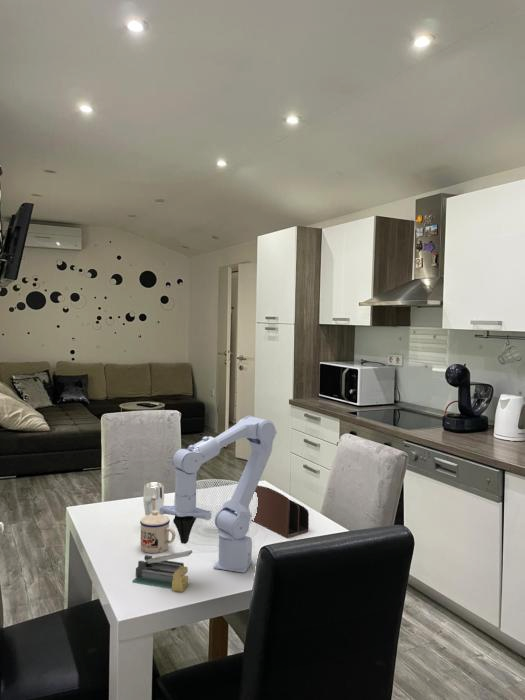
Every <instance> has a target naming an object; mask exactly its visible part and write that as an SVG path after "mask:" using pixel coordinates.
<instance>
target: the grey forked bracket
mask: <svg viewBox="0 0 525 700" xmlns="http://www.w3.org/2000/svg"><path fill="white" fill-rule="evenodd" d="M146 558H148V559H150V558H153V555H147V554H145V555H144V560H145V559H146ZM144 560H138V562H137V565H138V566H137V567H135V578H136V577H137V576H142V570H143V569H145V567H148V566H149V565H150V564H151V563H150V564H146V561H144Z"/></svg>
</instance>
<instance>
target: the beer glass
mask: <svg viewBox="0 0 525 700" xmlns="http://www.w3.org/2000/svg"><path fill="white" fill-rule="evenodd" d="M142 496H143V497H142V498H143V501H142V502H143V508H144V514H145V516H147V515H149V514H152V511H154V510H157V511H158V513H160V507H161V506H164V503H165V485H164V484H163V482H159V481H151V482H146V483H144V485H143V495H142Z"/></svg>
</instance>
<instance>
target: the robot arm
mask: <svg viewBox="0 0 525 700" xmlns="http://www.w3.org/2000/svg"><path fill="white" fill-rule="evenodd" d="M277 433H278V432H277V430H276V426H275V425H274V422H272V420H270V419H263V418H260V417H256V416H254V415H246V416H244V418H241V419H239V420H238V422H237V423H235V424H234V425H233V426H230V427H229V428H228V429H227V430H225V431H223V432H222V433H220V434H218V435H217V436H215V437H213V436H211V435H209V436H203V437H202V439H201V440H200V441H198V442H196V443H194V444H190V445H188V447H187V448H180V449H179V450H178V449H177V451H176V452H175V453H174V455H173V456H172V457H173V458H172V459H171V466H173V468H174V473H175V476H174V477H175V482H174V484H175V485H174V486H175V487H174V489H175V490H174V505H163V506H161V507H160V513H159V514H161V515H171V516H174V518H173V520H172V523H173V525H175V527H176V530H177V532H178V536H179V540H180V543H181V544H182V545H183V544H185V545H186V544H188V542H189V539H190V535H191V532H192V529H193V526H194V525H195V523H196V521H197V519H202V520H205V521H210V520H211V519H212V510H211V511H210V510H208V509H207V510H206V509H203V508H199V507H197V473H198V471H199V470H200V469H201V466H202V465H203V464H204V463H207V462H208V461H209V460H212V459H213V458H215V457H217V456H218V455H219V454H220V453H221V449H222V448H224V447H226V446H228V445H230V444H232V443H234V442H236V441H239V440H240V439H242V438H243V439H246V440H247V442H248V443H249V445H250V446H251V453H250V455H249V457H248V459H247V461H246V464H245V466H244V469H243V471H242V473H241V476H240V477H239V481H238V482H237V485H236V488H235V490H234V492H233V495H232V496H231V499H229V500H227V501H226V502H224V503H223V505H222V507H221V508H220V509H219V511H218V512H217V513H216V514H215V517H214V526H215V527H216V528H217V529H218V560H217V562H216V563H215V565H214V566H213V569H217V570H223V571H232V572H237V573H244V574H245V573H246V571H248V569H249V567H250V566H251V564H252V563H253V559H252V557H253V556H252V553H253V552H252V551H253V540H252V537H250V536H247V534H248V531H249V528H250V521H251V517H252V512H251V511H250V507H249V506H250V504H251V503H252V502H251V501H252V500H253V494H254V492H255V490H256V487H257V485H258V486H259V482H260V480H261V478H262V476H263V473H264V471H265V468H266V466H267V464H268V461H269V460H270V456H271V453H272V451H273V443H274V439H275V438H276V435H277Z"/></svg>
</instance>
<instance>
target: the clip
mask: <svg viewBox="0 0 525 700" xmlns="http://www.w3.org/2000/svg"><path fill="white" fill-rule="evenodd" d="M187 570H188V566H185V565H184V566H180V567H179V568H178V569H177V570H176V572H175V573H174V575H173V581H172V589H171V591H173V592H178V593H183V592H184V591H185V590H186V589H187V588H188V586H189V576H188V575H186V573H187V572H188V571H187ZM186 571H187V572H186ZM185 572H186V573H185ZM184 573H185V574H184Z"/></svg>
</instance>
